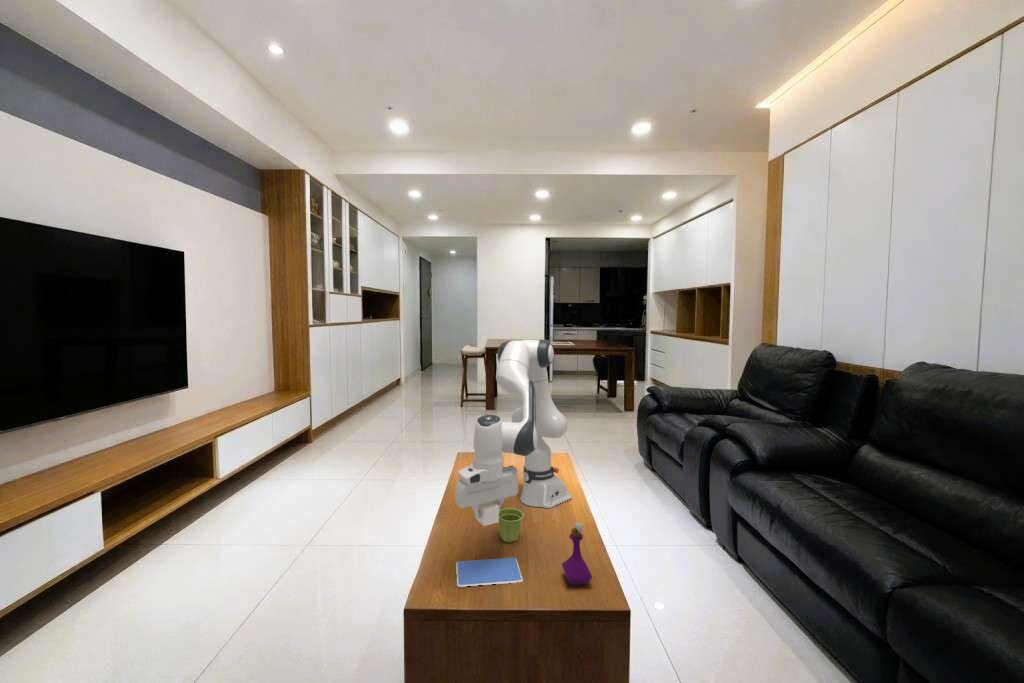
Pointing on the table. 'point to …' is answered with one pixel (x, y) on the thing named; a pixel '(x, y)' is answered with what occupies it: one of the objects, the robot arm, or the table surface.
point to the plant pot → (510, 524)
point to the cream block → (488, 513)
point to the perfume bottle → (576, 560)
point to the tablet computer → (488, 572)
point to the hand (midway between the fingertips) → (487, 514)
